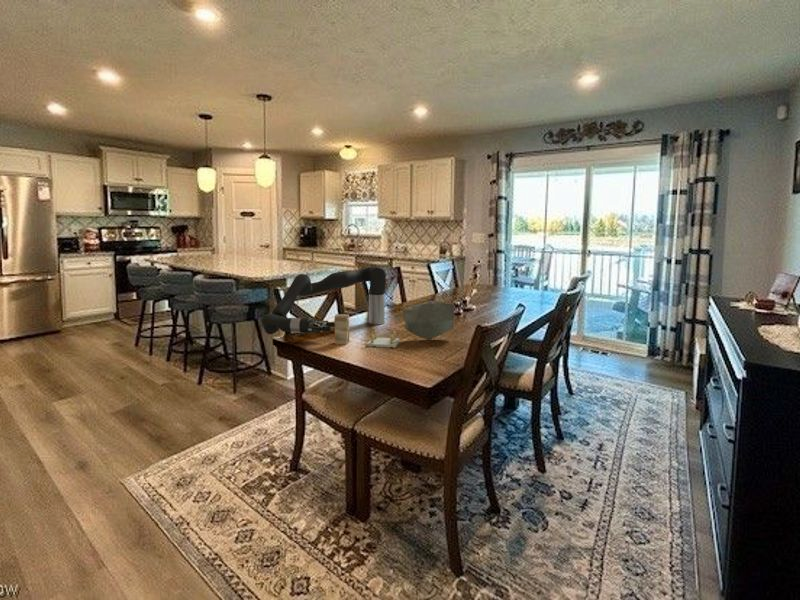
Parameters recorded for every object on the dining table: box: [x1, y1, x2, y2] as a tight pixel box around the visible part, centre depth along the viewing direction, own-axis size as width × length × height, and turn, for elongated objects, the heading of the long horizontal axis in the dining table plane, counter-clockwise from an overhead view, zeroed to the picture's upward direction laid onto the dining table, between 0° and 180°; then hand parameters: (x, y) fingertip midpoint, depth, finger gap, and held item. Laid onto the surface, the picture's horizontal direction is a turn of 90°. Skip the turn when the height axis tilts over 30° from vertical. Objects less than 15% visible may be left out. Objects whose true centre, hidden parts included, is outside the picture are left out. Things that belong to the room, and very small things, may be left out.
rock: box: [401, 300, 456, 340], centre depth 218 cm, size 27×6×20 cm, turn 98°
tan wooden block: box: [334, 313, 350, 345], centre depth 211 cm, size 4×6×14 cm, turn 81°
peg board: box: [366, 330, 400, 349], centre depth 212 cm, size 12×14×5 cm
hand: (333, 326), depth 212 cm, fingers open, 8 cm apart
